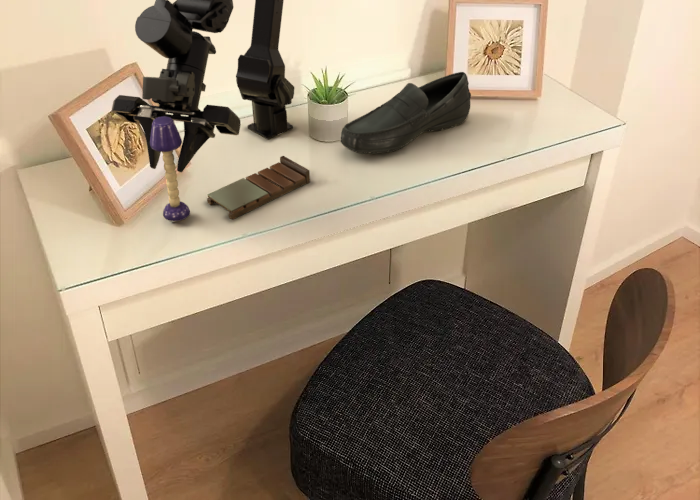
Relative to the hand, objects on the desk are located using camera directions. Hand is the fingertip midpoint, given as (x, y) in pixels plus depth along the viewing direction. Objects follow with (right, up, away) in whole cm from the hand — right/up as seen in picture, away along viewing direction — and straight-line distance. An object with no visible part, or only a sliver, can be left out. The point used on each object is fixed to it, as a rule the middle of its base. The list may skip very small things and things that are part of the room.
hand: (165, 169), depth 114 cm
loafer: (+38, +10, +29) cm, 49 cm away
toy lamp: (0, -7, +7) cm, 9 cm away
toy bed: (+12, -3, +13) cm, 18 cm away
